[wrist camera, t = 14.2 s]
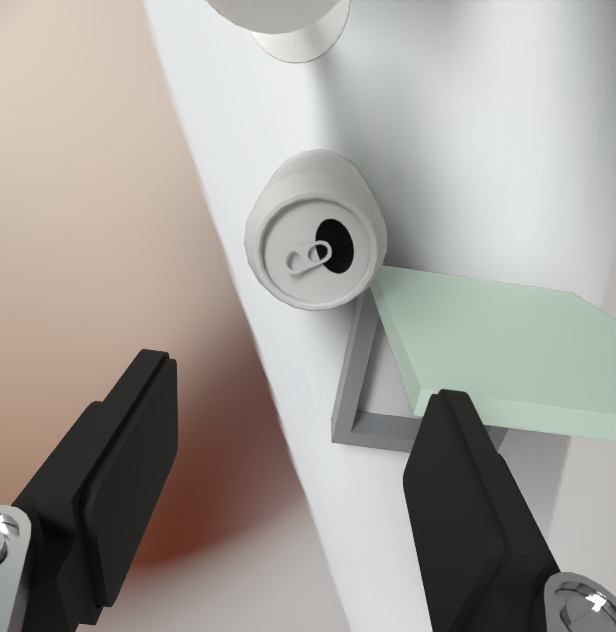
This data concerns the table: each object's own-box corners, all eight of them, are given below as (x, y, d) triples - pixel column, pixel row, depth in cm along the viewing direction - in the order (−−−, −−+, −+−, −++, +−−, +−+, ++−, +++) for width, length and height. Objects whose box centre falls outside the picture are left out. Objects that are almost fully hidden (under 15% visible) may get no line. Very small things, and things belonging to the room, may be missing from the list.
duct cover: (367, 279, 30) (370, 263, 30) (566, 307, 31) (572, 292, 30) (413, 415, 15) (421, 388, 15) (793, 465, 16) (813, 440, 15)
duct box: (363, 268, 33) (366, 283, 30) (545, 294, 33) (564, 310, 31) (331, 420, 40) (331, 442, 38) (480, 439, 41) (491, 462, 38)
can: (377, 236, 32) (405, 305, 21) (284, 260, 33) (266, 337, 22) (355, 134, 28) (375, 154, 18) (253, 165, 30) (214, 202, 19)
